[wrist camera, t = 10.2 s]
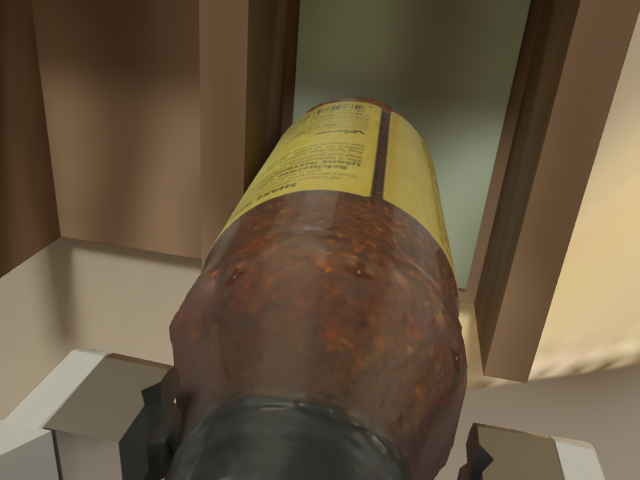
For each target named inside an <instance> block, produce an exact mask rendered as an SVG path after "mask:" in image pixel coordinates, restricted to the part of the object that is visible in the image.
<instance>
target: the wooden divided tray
mask: <svg viewBox="0 0 640 480" xmlns="http://www.w3.org/2000/svg"><path fill="white" fill-rule="evenodd" d="M639 11H640V0H0V278H1V277H2V276H4V275H5V274H7V273H8V272H10V271H11V270H13V269H14V268H15V267H17V266H18V265H20V264H21V263H23V262H24V261H26V260H27V259H29V258H30V257H32V256H33V255H34V254H36V253H37V252H39V251H40V250H42V249H43V248H45V247H46V246H48V245H49V244H51V243H52V242H53V241H55V240H56V239H58V238H59V237H68V238H74V239H80V240H86V241H92V242H98V243H105V244H111V245H117V246H123V247H129V248H135V249H141V250H148V251H154V252H160V253H166V254H172V255H178V256H185V257H191V258H197V259H201V273H202V268H203V265H204V263H205V260H206V258H207V255H208V253H209V251H210V249H211V247H212V245H213V244H214V242H215V241H216V239H217V238H218V236H219V235H220V233H221V231H222V230H223V228H224V227H225V225H226V223H227V222H228V220H229V218H230V217H231V215H232V213H233V212H234V210H235V209H236V207H237V205H238V204H239V202H240V200H241V199H242V197H243V196H244V194H245V192H246V191H247V189H248V188H249V186H250V185H251V183H252V182H253V180H254V179H255V177H256V175H257V174H258V172H259V171H260V170H261V168H262V167H263V165H264V164H265V162H266V161H267V159H268V158H269V156H270V155H271V153H272V151H273V150H274V148H275V147H276V145H277V143H278V142H279V140H280V139H281V137H282V136H283V134H284V133H285V132H286V131H287V130H288V129H289V128H290V126H291V125H292V124H294V123H295V122H296V121H297V120H298V119H300V118H301V117H303V116H304V115H305V114H306V113H307V112H308V111H309V110H310V109H311V108H313V107H316V106H317V105H319V104H321V103H326V102H329V101H335V100H339V99H345V98H348V97H363V98H368V99H373V100H378V101H381V102H383V103H385V104H387V105H388V106H390V107H391V108H392V109H393V110H395V111H397V112H398V113H400V114H401V116H402V117H404V118H405V119H406V120H407V121H408V122H409V123H410V124H411V125H412V126H413V127H414V129H415V130H416V131H417V132H418V133H419V135H420V136H421V138H423V139H424V140H425V142H426V146H427V148H428V150H429V153H430V155H431V158H432V161H433V165H434V169H435V174H436V179H437V183H438V188H439V194H440V199H441V205H442V210H443V214H444V219H445V224H446V229H447V234H448V239H449V243H450V248H451V254H452V260H453V265H454V271H455V276H456V281H457V286H458V294H459V301H462V302H468V303H474V306H475V314H476V321H477V329H478V337H479V344H480V352H481V360H482V368H483V375H485V376H490V377H496V378H502V379H507V380H513V381H519V382H524V383H527V381H528V377H529V374H530V371H531V367H532V364H533V361H534V358H535V354H536V351H537V348H538V344H539V341H540V338H541V334H542V331H543V328H544V325H545V321H546V318H547V315H548V311H549V308H550V305H551V301H552V298H553V295H554V292H555V288H556V285H557V282H558V278H559V275H560V272H561V268H562V265H563V262H564V259H565V255H566V252H567V249H568V245H569V242H570V239H571V235H572V232H573V229H574V226H575V222H576V219H577V216H578V212H579V209H580V206H581V202H582V199H583V196H584V193H585V189H586V186H587V183H588V179H589V176H590V173H591V169H592V166H593V163H594V160H595V156H596V153H597V150H598V146H599V143H600V140H601V136H602V133H603V130H604V127H605V123H606V120H607V117H608V113H609V110H610V107H611V103H612V100H613V97H614V94H615V90H616V87H617V84H618V80H619V77H620V74H621V70H622V67H623V64H624V61H625V57H626V54H627V51H628V47H629V44H630V41H631V37H632V34H633V31H634V28H635V24H636V21H637V18H638V14H639Z"/></svg>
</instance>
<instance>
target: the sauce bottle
mask: <svg viewBox="0 0 640 480" xmlns="http://www.w3.org/2000/svg"><path fill="white" fill-rule="evenodd" d="M458 317H459V294H458V286H457V281H456V276H455V271H454V265H453V260H452V254H451V248H450V243H449V239H448V234H447V229H446V224H445V219H444V214H443V210H442V205H441V199H440V194H439V188H438V183H437V179H436V174H435V169H434V165H433V161H432V158H431V155H430V153H429V150H428V148H427V146H426V142H425V140H424V139H423V138H421V136H420V135H419V133H418V132H417V131H416V130H415V129H414V127H413V126H412V125H411V124H410V123H409V122H408V121H407V120H406V119H405V118H404V117H402V116H401V114H400V113H398V112H397V111H395V110H393V109H392V108H391V107H390V106H388V105H387V104H385V103H383V102H381V101H378V100H373V99H368V98H363V97H348V98H345V99H339V100H335V101H329V102H326V103H321V104H319V105H317V106H316V107H313V108H311V109H310V110H309V111H308V112H307V113H306V114H305V115H304V116H303V117H301V118H300V119H298V120H297V121H296V122H295V123H294V124H292V125H291V126H290V128H289V129H288V130H287V131H286V132H285V133H284V134H283V136H282V137H281V139H280V140H279V142H278V143H277V145H276V147H275V148H274V150H273V151H272V153H271V155H270V156H269V158H268V159H267V161H266V162H265V164H264V165H263V167H262V168H261V170H260V171H259V172H258V174H257V175H256V177H255V179H254V180H253V182H252V183H251V185H250V186H249V188H248V189H247V191H246V192H245V194H244V196H243V197H242V199H241V200H240V202H239V204H238V205H237V207H236V209H235V210H234V212H233V213H232V215H231V217H230V218H229V220H228V222H227V223H226V225H225V227H224V228H223V230H222V231H221V233H220V235H219V236H218V238H217V239H216V241H215V242H214V244H213V245H212V247H211V249H210V251H209V253H208V255H207V258H206V260H205V263H204V265H203V268H202V273H201V274H200V276H199V277H198V278H197V281H196V282H195V284H194V285H193V286H192V288H191V289H190V291H189V292H188V294H187V296H186V298H185V300H184V302H183V303H182V305H181V307H180V309H179V311H178V312H177V313H176V314H175V316H174V318H173V320H172V322H171V324H170V327H169V330H170V339H171V343H172V347H173V354H174V366H175V367H176V368H177V369H178V370H179V371H180V383H181V390H180V391H179V393H178V394H177V396H176V406H177V407H178V408H179V410H180V411H181V412H182V427H181V435H180V441H179V444H178V448H177V450H176V452H175V454H174V456H173V458H172V460H171V463H170V466H169V470H168V472H167V474H166V476H165V477H164V478H165V480H433V479H434V478H435V477H436V476H437V474H438V472H439V471H440V469H441V468H443V467H444V466H445V464H446V462H447V460H448V457H449V454H450V450H451V448H452V447H453V444H454V439H455V434H456V429H457V426H458V421H459V417H460V412H461V408H462V404H463V400H464V395H465V390H466V384H467V361H466V354H465V345H464V341H463V337H462V333H461V331H462V327H461V324H460V322H459V319H458Z"/></svg>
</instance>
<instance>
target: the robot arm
mask: <svg viewBox="0 0 640 480" xmlns="http://www.w3.org/2000/svg"><path fill="white" fill-rule="evenodd" d="M180 390H181V383H180V371H179V370H178V369H177V368H176V367H175V366H171V365H167V364H162V363H157V362H153V361H148V360H143V359H139V358H134V357H129V356H125V355H120V354H115V353H112V354H111V353H107V352H103V351H98V350H93V349H89V348H84V347H81V348H78V349H75V350H72V351H71V352H70V353H69V354H68V355H67V356H66V357H65V358H64V359H63V360H62V361H61V362H60V363H59V364H58V365H57V366H56V367H55V368H54V369H53V370H52V371H51V372H50V373H49V374H48V375H47V376H46V377H45V378H44V379H43V380H42V381H41V382H40V383H39V384H38V385H37V386H36V387H35V388H34V390H33V391H32V392H31V393H30V394H29V395H28V396H27V397H26V398H25V399H24V400H23V401H22V402H21V403H20V404H19V405H18V406H17V407H16V408H15V409H14V410H13V411H12V412H11V413H10V414H9V415H8V416H7V417H6V418H5V419H4V420H0V480H161V479H163V478H164V477H165V476H166V474H167V472H168V470H169V466H170V463H171V460H172V458H173V456H174V454H175V452H176V450H177V448H178V444H179V441H180V435H181V427H182V412H181V411H180V410H179V408H178V407H177V406H176V404H175V403H174V402H173V401H174V399H175V398H176V396H177V394H178V393H179V391H180ZM466 450H467V463H466V464H465V465H463V466H462V467H461V468H460V470H459V474H458V478H457V480H605V477H604V474H603V471H602V469H601V466H600V463H599V460H598V457H597V455H596V452H595V449H594V448H593V447H592V445H591V444H590V443H589V442H585V441H578V440H572V439H567V438H561V437H555V436H549V437H547V436H545V435H539V434H533V433H528V432H523V431H517V430H512V429H506V428H500V427H495V426H489V425H483V424H478V423H473V425H472V427H471V429H470V432H469V436H468V440H467V443H466Z"/></svg>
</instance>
